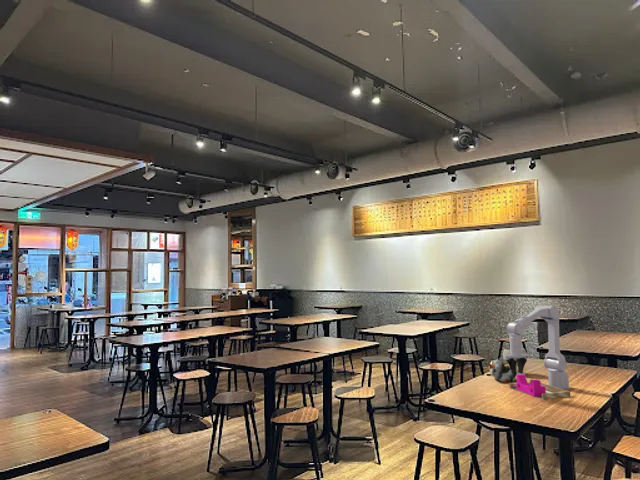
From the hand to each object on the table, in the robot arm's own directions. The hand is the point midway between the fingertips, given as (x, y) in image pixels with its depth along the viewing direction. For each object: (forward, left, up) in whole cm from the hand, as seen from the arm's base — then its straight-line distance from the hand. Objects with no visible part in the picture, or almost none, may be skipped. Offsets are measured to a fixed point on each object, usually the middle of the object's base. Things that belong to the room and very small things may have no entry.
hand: (517, 373), depth 228 cm
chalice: (-32, -40, -11) cm, 52 cm away
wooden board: (-13, 0, -10) cm, 17 cm away
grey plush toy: (-13, -27, -11) cm, 32 cm away
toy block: (-8, 0, -10) cm, 13 cm away
